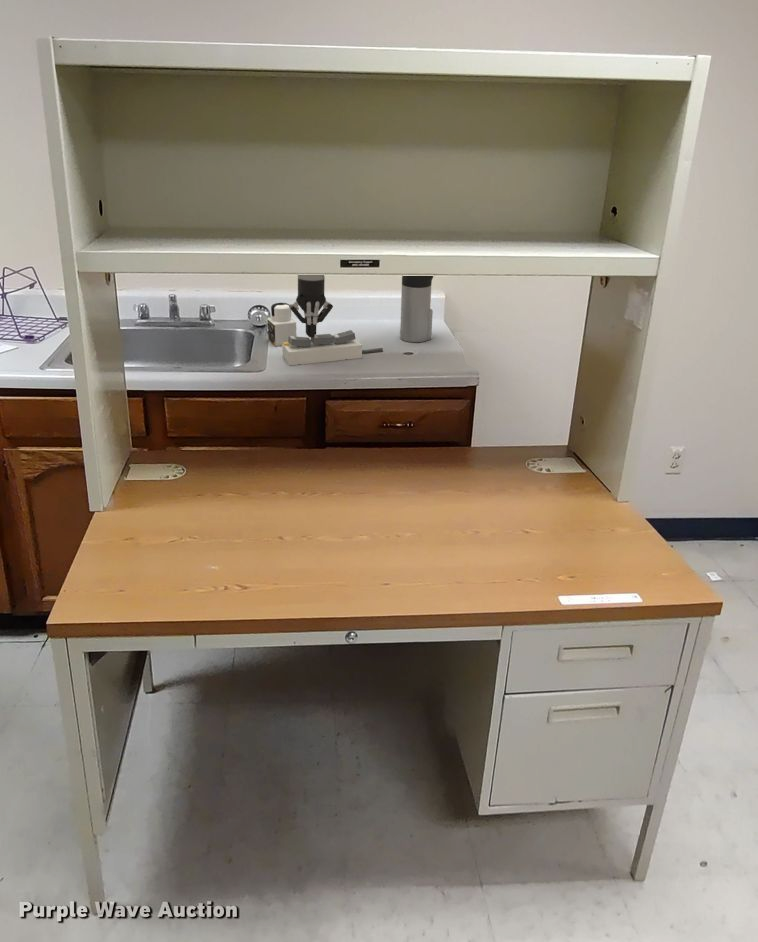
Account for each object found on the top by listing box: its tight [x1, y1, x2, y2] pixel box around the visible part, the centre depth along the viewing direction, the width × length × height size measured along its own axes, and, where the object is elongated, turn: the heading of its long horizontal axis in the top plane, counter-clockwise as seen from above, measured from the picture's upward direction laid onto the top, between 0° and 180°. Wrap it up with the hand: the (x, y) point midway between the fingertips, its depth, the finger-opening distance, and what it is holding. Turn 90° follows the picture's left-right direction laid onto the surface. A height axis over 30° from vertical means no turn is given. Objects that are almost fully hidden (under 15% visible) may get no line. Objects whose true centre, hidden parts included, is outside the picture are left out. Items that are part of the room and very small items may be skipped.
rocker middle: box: [310, 333, 334, 345], centre depth 221 cm, size 6×4×2 cm, turn 111°
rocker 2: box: [331, 329, 357, 344], centre depth 223 cm, size 6×4×2 cm, turn 110°
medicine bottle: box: [267, 302, 298, 347], centre depth 233 cm, size 7×7×12 cm
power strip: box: [281, 339, 384, 366], centre depth 224 cm, size 30×8×5 cm, turn 111°
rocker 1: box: [288, 335, 312, 347], centre depth 219 cm, size 6×4×2 cm, turn 111°
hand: (310, 336), depth 220 cm, fingers closed
